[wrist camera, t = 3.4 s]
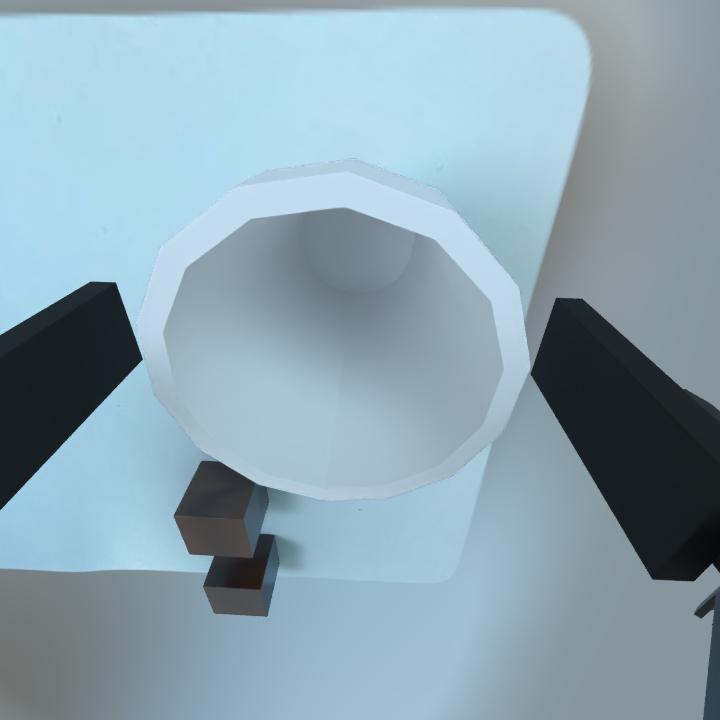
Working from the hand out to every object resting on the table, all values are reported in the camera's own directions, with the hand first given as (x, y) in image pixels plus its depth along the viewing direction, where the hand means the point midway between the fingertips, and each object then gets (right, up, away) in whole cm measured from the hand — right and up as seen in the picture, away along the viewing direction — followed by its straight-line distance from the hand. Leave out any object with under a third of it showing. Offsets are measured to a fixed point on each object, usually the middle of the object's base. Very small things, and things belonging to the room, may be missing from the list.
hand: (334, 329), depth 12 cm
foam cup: (+1, +6, +9) cm, 10 cm away
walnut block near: (-10, -11, +20) cm, 25 cm away
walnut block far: (-10, -20, +26) cm, 34 cm away
